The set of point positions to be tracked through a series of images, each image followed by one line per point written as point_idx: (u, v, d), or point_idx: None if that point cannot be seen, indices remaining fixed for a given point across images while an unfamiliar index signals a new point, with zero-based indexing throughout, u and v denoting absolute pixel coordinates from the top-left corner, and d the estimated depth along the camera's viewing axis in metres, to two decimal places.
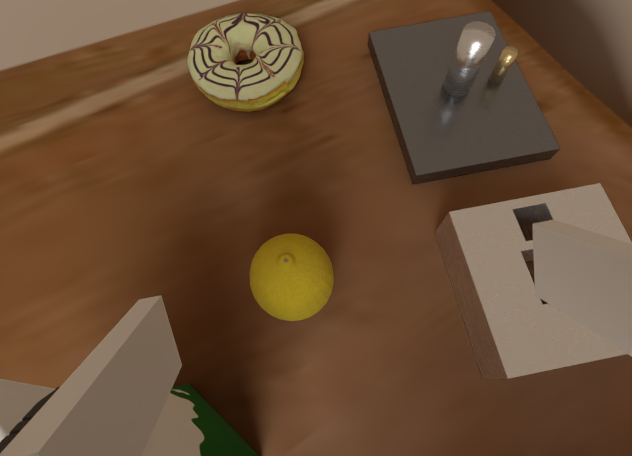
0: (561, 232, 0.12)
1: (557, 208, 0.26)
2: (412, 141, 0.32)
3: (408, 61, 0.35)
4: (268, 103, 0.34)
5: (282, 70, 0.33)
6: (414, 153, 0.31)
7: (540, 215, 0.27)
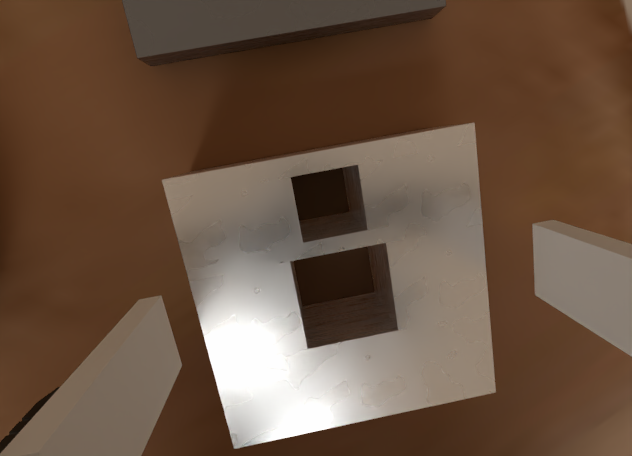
0: (561, 232, 0.12)
1: (377, 177, 0.13)
2: None
3: None
4: None
5: None
6: None
7: (354, 175, 0.14)
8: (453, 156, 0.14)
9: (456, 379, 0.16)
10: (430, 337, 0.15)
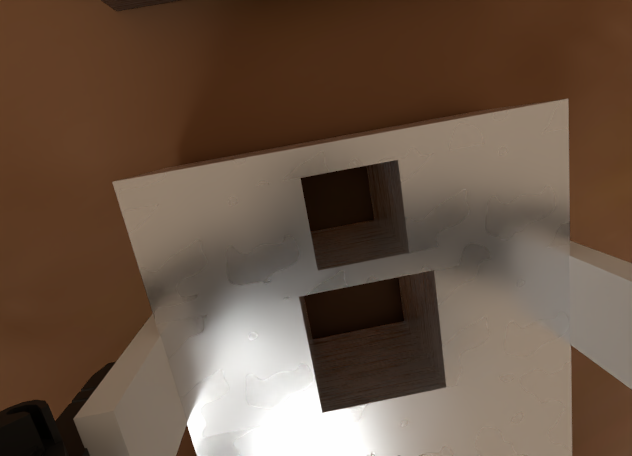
0: None
1: (425, 177, 0.09)
2: None
3: None
4: None
5: None
6: None
7: (388, 175, 0.10)
8: (535, 148, 0.09)
9: (521, 449, 0.12)
10: (489, 395, 0.11)
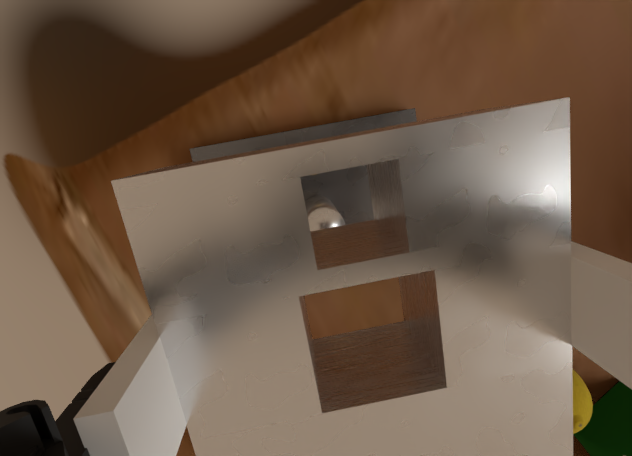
0: None
1: (425, 176, 0.09)
2: None
3: None
4: None
5: None
6: None
7: (388, 174, 0.10)
8: (536, 147, 0.09)
9: (522, 449, 0.11)
10: (490, 396, 0.11)
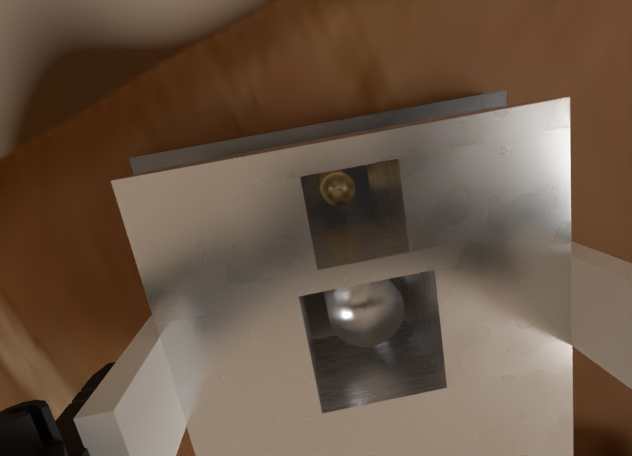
0: None
1: (425, 176, 0.09)
2: None
3: None
4: None
5: None
6: None
7: (388, 174, 0.10)
8: (536, 147, 0.09)
9: (522, 450, 0.11)
10: (490, 396, 0.11)
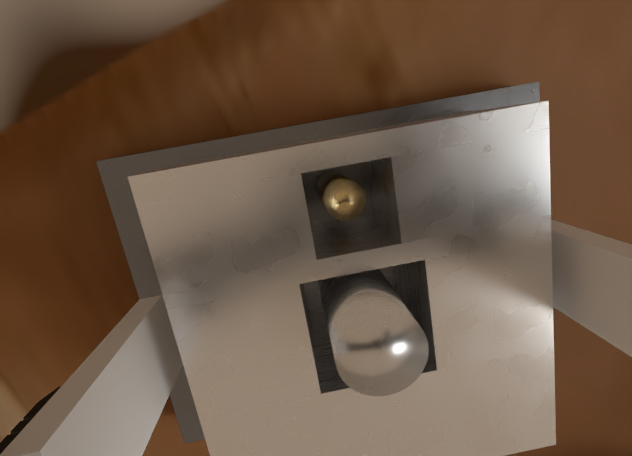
0: (560, 232, 0.12)
1: (416, 173, 0.10)
2: None
3: None
4: None
5: None
6: None
7: (383, 171, 0.11)
8: (518, 146, 0.10)
9: (507, 429, 0.12)
10: (477, 378, 0.12)
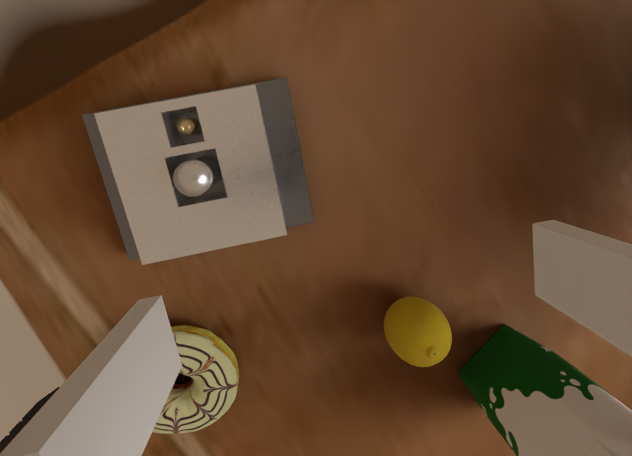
0: (562, 232, 0.12)
1: (206, 112, 0.26)
2: None
3: None
4: (232, 352, 0.35)
5: (205, 350, 0.33)
6: (290, 221, 0.33)
7: None
8: (246, 102, 0.26)
9: (263, 226, 0.29)
10: (245, 201, 0.28)
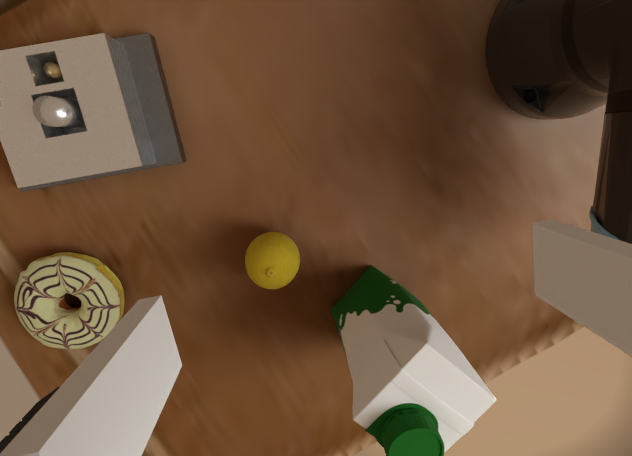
0: (561, 232, 0.12)
1: (64, 56, 0.31)
2: None
3: None
4: (117, 279, 0.40)
5: (87, 272, 0.38)
6: (161, 161, 0.38)
7: None
8: (97, 48, 0.32)
9: (120, 157, 0.34)
10: (103, 135, 0.33)
